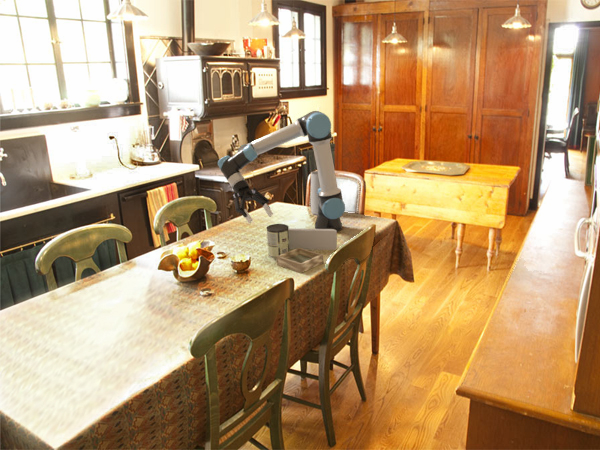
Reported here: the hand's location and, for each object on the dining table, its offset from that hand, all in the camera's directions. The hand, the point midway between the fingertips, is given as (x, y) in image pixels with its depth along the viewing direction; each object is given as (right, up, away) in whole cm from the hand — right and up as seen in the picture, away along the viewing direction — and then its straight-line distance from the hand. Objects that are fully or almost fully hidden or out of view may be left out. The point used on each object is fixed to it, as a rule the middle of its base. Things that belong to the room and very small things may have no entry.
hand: (261, 218), depth 234 cm
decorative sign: (+21, -15, +7) cm, 26 cm away
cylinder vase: (+32, +4, +66) cm, 73 cm away
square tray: (+19, -21, -13) cm, 31 cm away
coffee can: (+8, -18, -2) cm, 20 cm away
